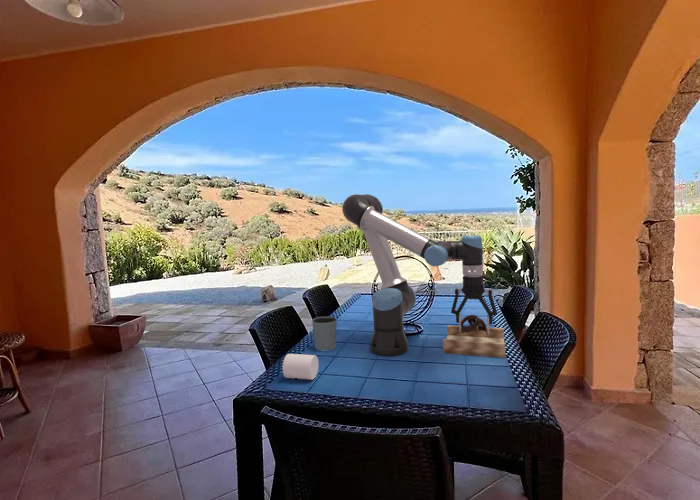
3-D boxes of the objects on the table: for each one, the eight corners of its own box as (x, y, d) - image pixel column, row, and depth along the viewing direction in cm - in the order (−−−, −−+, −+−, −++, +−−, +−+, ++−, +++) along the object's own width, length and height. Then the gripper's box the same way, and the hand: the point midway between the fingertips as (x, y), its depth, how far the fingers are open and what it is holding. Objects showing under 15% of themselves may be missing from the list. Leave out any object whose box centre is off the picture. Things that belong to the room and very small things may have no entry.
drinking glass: (308, 348, 156) (306, 320, 155) (326, 341, 164) (324, 314, 162) (325, 354, 149) (323, 324, 148) (343, 346, 157) (341, 318, 156)
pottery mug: (492, 338, 143) (483, 321, 141) (469, 348, 145) (460, 332, 143) (484, 321, 154) (475, 305, 152) (462, 330, 156) (454, 315, 154)
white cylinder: (310, 384, 124) (309, 360, 123) (283, 381, 127) (281, 359, 126) (323, 368, 136) (321, 347, 135) (297, 367, 138) (296, 346, 138)
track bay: (443, 353, 144) (442, 340, 143) (448, 336, 162) (447, 325, 161) (505, 357, 136) (505, 344, 136) (503, 340, 154) (503, 328, 153)
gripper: (442, 276, 146) (444, 332, 149) (504, 277, 139) (505, 336, 141) (444, 273, 153) (446, 327, 156) (503, 273, 146) (504, 330, 148)
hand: (474, 331), depth 148 cm, fingers closed on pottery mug, 10 cm apart
